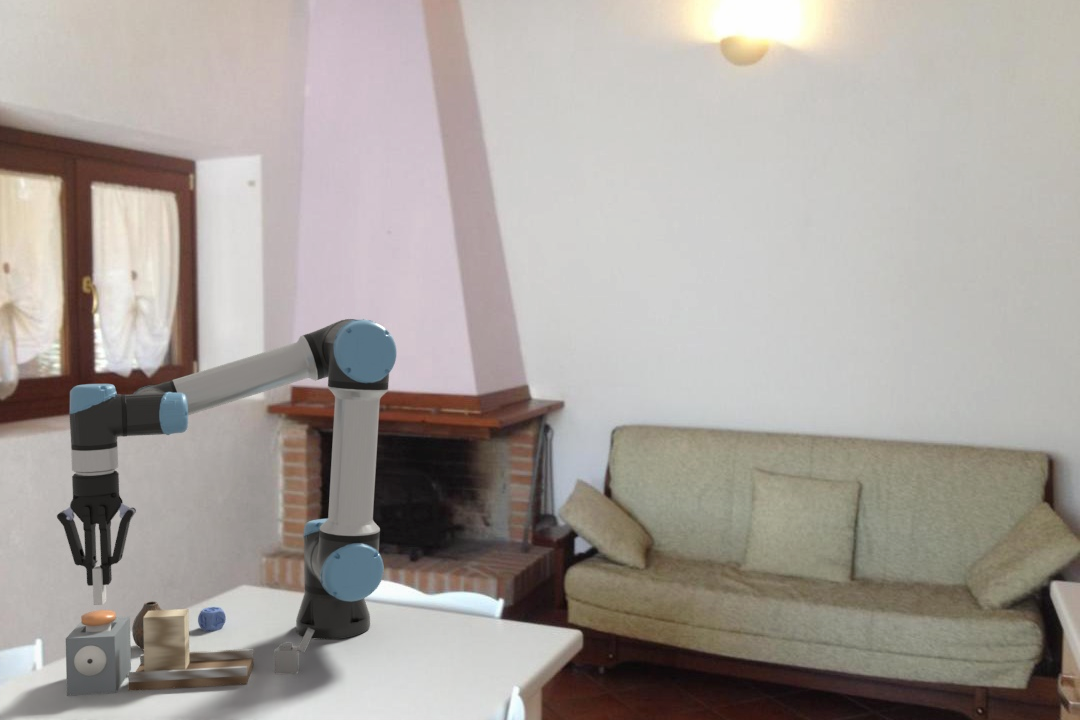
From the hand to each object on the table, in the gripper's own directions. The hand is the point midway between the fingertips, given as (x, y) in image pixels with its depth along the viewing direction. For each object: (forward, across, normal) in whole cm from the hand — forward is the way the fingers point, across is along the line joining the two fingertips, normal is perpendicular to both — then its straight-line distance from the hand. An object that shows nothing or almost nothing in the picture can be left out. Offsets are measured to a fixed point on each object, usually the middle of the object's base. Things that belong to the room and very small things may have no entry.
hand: (100, 602), depth 179 cm
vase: (+15, -4, -18) cm, 24 cm away
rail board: (+15, -16, 0) cm, 21 cm away
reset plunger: (+10, 0, 0) cm, 10 cm away
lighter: (+15, -34, 0) cm, 37 cm away
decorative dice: (+15, -14, -28) cm, 35 cm away
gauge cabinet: (+14, 0, 0) cm, 14 cm away
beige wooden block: (+13, -11, 0) cm, 17 cm away
